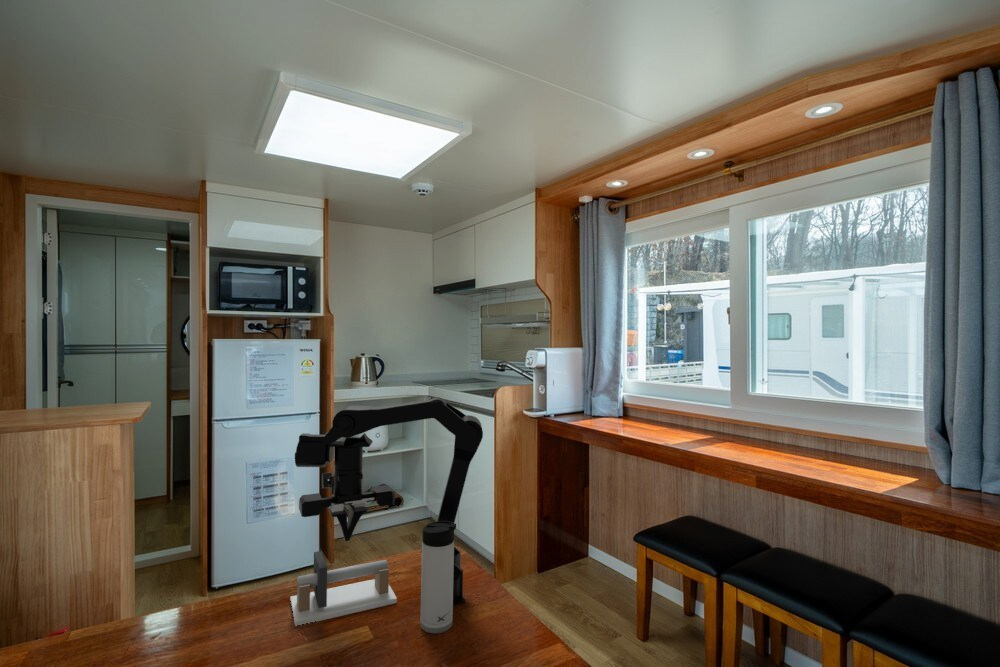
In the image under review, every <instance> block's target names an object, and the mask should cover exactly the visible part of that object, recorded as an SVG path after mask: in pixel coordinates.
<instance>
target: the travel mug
mask: <svg viewBox="0 0 1000 667" xmlns="http://www.w3.org/2000/svg"><path fill="white" fill-rule="evenodd" d="M429 523H430V524H428V523H427V524H426V526H424V527H423V528H422V540H421V550H422V553H421V572H420V573H421V576H420V578H421V579H420V582H421V583H420V584H421V585H420V621H419V622H420V623H419V625H420V628H421V629H422V630H423V632H426V633H429V634H442V633H445V632H447V631H448V630H450V628H451V627H452V626H453V618H454V617H453V610H454V609H453V608H454V605H453V572H454V546H455V530H456V529H457V524H456V523H455V522H454V523H452V522H450V521H437V522H435V521H433V522H429Z"/></svg>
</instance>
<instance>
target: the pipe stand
mask: <svg viewBox="0 0 1000 667" xmlns="http://www.w3.org/2000/svg"><path fill="white" fill-rule="evenodd" d="M371 575H374V579H369V580H363V581H359V582H353V583H350V584H345V585H340V586H335V587H330V588H327V607H323V608H318V604H317V600H316V597H315V593H314V591H311V588H312V587H313V586H317V579H318V575H317V573H314V572H313V573H309V574H304V575H299V576H297V580H296V583H297V584H296V585H297V586H296V587H297V588H296V590H297V591H296V594H295V595H291V596H290V598H289V601H291V602H290V606H292V607H291V611H293V613H292V616H293V617H294V618H293V623H294V627H298V626H297V625H300V626H303V625H302V624H304V625H307V624H306V623H308V624H311V623H310V622H313V623H316V622H320V621H325V620H328V619H334V618H339V617H342V616H346V615H347V616H348V615H351V614H354V613H360V612H364V611H369V610H373V609H376V608H381V607H386V606H390V605H394V604H397V603H398V598H397V596H396V594H395V592H394V591H393V589H392V587H391V585H390V583H389V582H390V581H389V579H390V578H389V577H390V569H389V564H388V559H381V560H377V561H371V562H366V563H361V564H355V565H351V566H345V567H339V568H334V569H331V570H330V569H329V570H327V584H331V583H332V584H333V583H337V582H341V581H348V580H352V579H357V578H361V577H362V578H363V577H366V576H371ZM315 621H316V622H315Z"/></svg>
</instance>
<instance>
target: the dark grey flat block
mask: <svg viewBox="0 0 1000 667" xmlns="http://www.w3.org/2000/svg"><path fill="white" fill-rule="evenodd" d="M327 571H328V566H327V563H326V559H325V557H324V555H323V552H322V550H320V551H319V550H318V551H313V573H317V575H318V579H317V586H312V587H313V592H314V593H315V597H316V600H317V604H318V608H323V607H327V589H328V583H327Z"/></svg>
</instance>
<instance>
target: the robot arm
mask: <svg viewBox="0 0 1000 667" xmlns="http://www.w3.org/2000/svg"><path fill="white" fill-rule="evenodd" d="M430 419H434V420H436V421H437V422H438V423H439V424H441V426H443V427H444V428H445V429H446V430H447V431H448V432H450V433H451V434H452V435H454V446H453V448H454V449H453V458H452V461H451V465H450V469H449V472H448V476H447V481H446V483H445V484H446V485H445V488H444V491H443V492H444V493H443V495H442V496H443V497H442V500H441V503H440V508H439V511H438V514H437V517H436V519H435V521H434V522H437V521H450V522H452V523H455V521H456V519H457V514H458V509H459V508H460V507H459V506H460V503H461V502H460V501H461V498H462V494H463V491H464V488H465V483H466V480H467V476H468V471H469V468H470V465H471V462H472V461H473V459H474V457H475V455H476V453H477V451H478V448H479V447H480V445H481V443H482V440H483V437H484V432H483V427H482V423H481V421H480V420H479V418H477V417H476V416H475V415H469V414H468V415H467V414H465V413H463V412H462V411H460V409H458V408H456V407H454V406H453V405H451V404H449V403H448V402H447V401H446V400H445V399H443V398H442V397H440V396H439V397H438V396H435V397H433V398H429V399H423V400H417V401H410V402H409V401H408V402H403V403H397V404H391V405H385V406H384V405H383V406H372V405H355V404H354V405H347V406H345V407H344V408H342V409H340V411H338V412H337V413H336V414H335V415H334V417H333V418H332V426H331V428H330V429H329V430H328V431H327V432H326V433H325V434H311V433H305V432H304V433H303V432H302V433H301V434H300V435H299V436H298V442H297V445H296V449H295V450H296V451H295V452H294V463H295V464H294V465H295V466H296V467H297V468H326V467H327V465H328V463H332V461H333V460H334V461H333V475H332V472H324V473H321V489H330V493H331V495H333V496H329V497H322V496H321V494H320V493H319V492H318V493H311V494H309V493H308V494H302V495H301V496H300V497H299V500H298V510H299V513H300V514H301V515H300V516H301V517H302V518H307V517H315V516H320V514H322V512H324V510H323V509H324V508H325V509H326V508H327V511H328V512H329V514H330V516H331V517H332V518H337V521H338V524H339V527H340V530H341V533H342V536H343V539H344V542H349V541H351V537H352V535H353V533H354V531H355V528H356V527H357V524H358V522H359V520H360V519H361V517H362V516H363V514H364V513H365V514H366V513H368V508H367V504H368V502H375V503H376V504H377V505H378V507H387V506H393V505H395V493H394V491H393V490H392V489H391V488H390V487H389V486H388V485H387V484H385V485H375V486H371V487H370V489H369V490H370V491H369V492H363V478H364V474H363V460H364V459H363V456H364V455H363V454H364V452H363V451H364V449H363V448H369V447H370V446H371V445H372V444H373V439H371V438H370V437H369V436H368V435H367V434H366V433H367V432H368V431H371V430H373V429H376V428H379V427H382V426H383V427H384V426H390V425H397V424H402V423H409V422H416V421H417V422H418V421H422V420H430ZM361 434H362V435H361ZM358 435H361V436H360V437H358ZM355 436H357V437H355ZM341 438H344V440H340V439H341ZM333 458H334V459H333ZM346 505H347V506H348V516H347V511H346V510H345V506H346ZM430 523H431V522H427V525H428V524H430ZM420 553H421V554H422V549H421V551H420ZM461 553H462V552H461V551H460V550H459V549H458V548H456V546H455V545H454V572H453V606H456V605H457V606H458V605H462V604H465V603H466V602H467V600H466V598H465V597H464V596H463V593H464V591H463V590H464V587H463V586H464V570H463V569H462V566H461V565H462V561H461V560H462V558H461V557H462V556H461V555H462V554H461Z"/></svg>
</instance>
